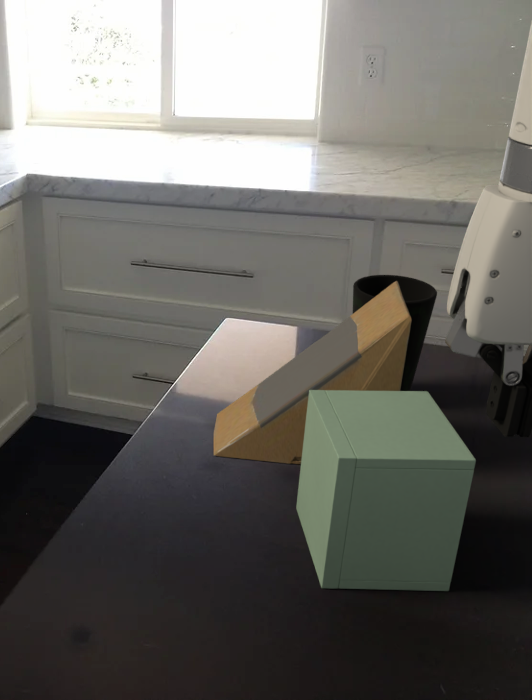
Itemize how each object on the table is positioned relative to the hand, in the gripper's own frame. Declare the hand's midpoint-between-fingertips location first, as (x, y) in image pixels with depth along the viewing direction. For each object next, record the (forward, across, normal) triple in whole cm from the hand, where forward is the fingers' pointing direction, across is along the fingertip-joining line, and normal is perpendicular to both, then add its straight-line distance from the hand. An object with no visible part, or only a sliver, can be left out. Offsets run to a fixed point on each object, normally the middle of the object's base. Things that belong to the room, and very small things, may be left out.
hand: (508, 427), depth 62 cm
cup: (+11, +1, -25) cm, 27 cm away
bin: (+11, +8, 0) cm, 14 cm away
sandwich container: (+11, +11, -16) cm, 22 cm away
